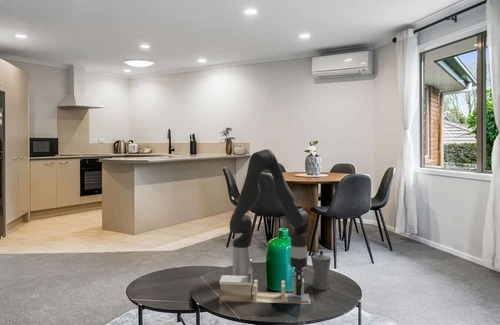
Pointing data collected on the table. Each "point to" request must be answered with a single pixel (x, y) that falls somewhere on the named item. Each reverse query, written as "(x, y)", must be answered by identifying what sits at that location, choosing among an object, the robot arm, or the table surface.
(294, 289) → the sage block
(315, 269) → the coffeepot
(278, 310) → the table surface
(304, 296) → the slate pad
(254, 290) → the puzzle board
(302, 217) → the robot arm
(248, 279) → the slide cover
